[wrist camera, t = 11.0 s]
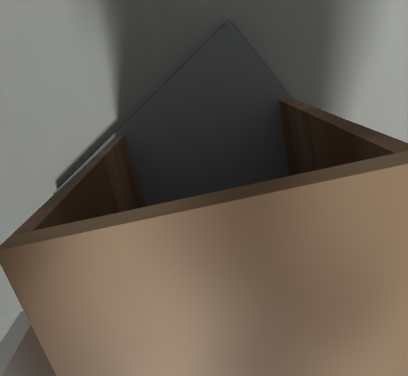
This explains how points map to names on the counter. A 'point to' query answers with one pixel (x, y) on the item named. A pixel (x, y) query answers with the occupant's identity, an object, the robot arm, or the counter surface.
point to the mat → (208, 125)
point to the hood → (226, 265)
